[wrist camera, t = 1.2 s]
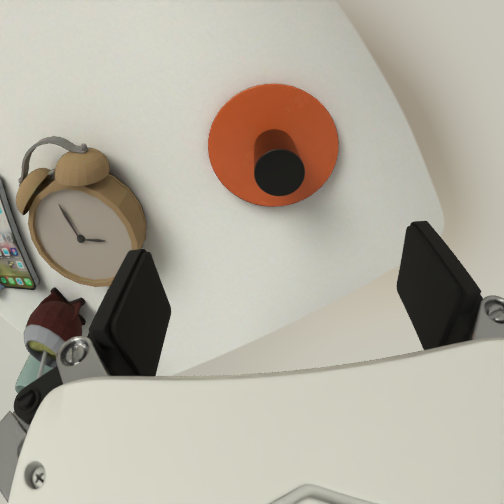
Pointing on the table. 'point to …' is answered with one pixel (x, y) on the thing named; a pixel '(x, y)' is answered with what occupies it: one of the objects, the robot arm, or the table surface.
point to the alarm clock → (80, 214)
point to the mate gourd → (52, 328)
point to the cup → (29, 373)
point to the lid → (273, 145)
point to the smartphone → (13, 252)
